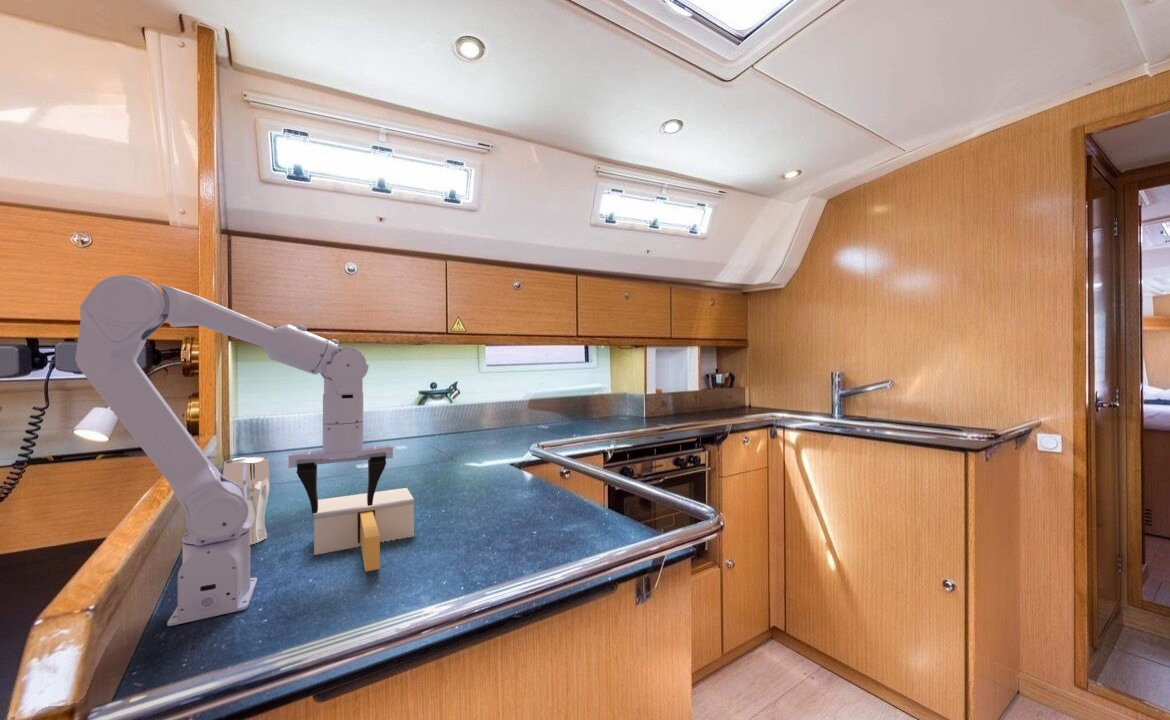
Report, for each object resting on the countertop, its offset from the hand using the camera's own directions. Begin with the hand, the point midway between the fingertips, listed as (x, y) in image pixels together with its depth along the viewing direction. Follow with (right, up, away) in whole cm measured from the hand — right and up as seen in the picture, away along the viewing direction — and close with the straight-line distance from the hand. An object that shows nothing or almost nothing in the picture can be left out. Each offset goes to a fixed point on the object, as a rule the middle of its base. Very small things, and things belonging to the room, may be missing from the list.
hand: (343, 507), depth 72 cm
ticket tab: (+3, -8, +2) cm, 9 cm away
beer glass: (-24, -10, +11) cm, 28 cm away
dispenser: (-3, -10, +12) cm, 16 cm away
